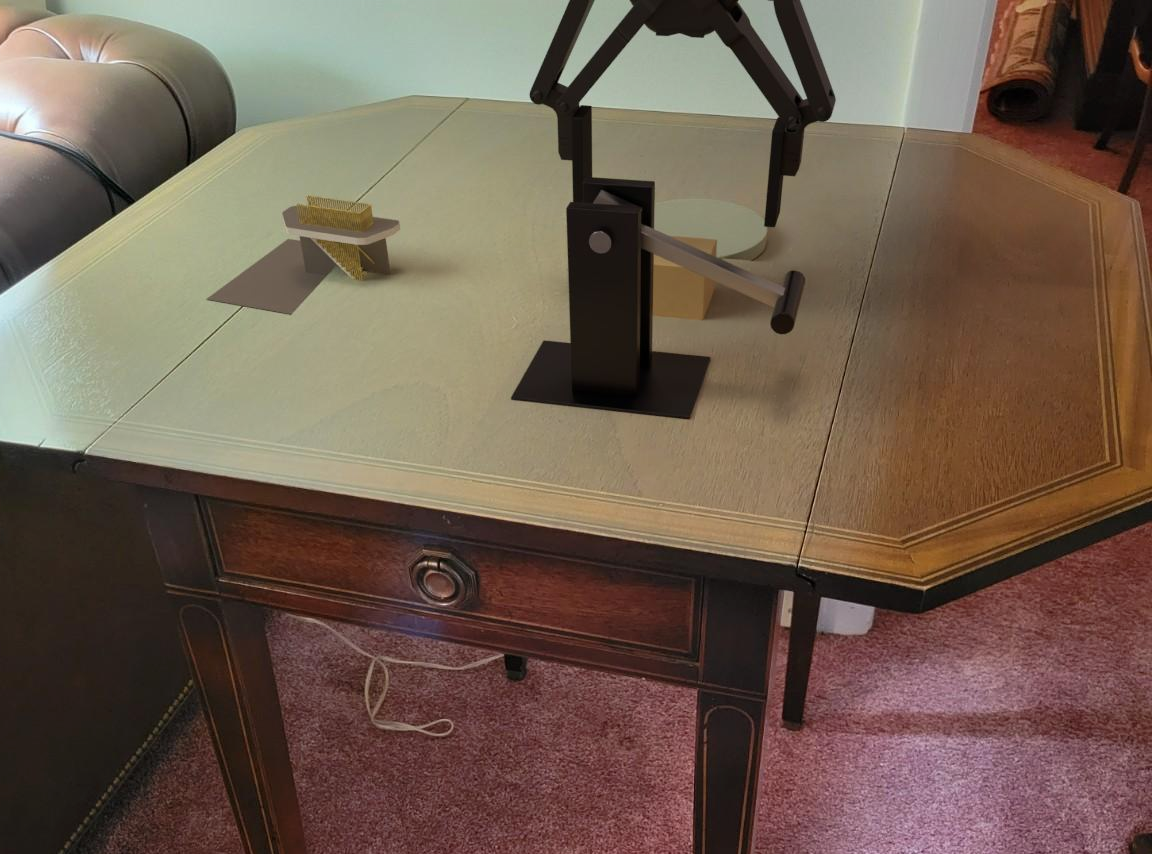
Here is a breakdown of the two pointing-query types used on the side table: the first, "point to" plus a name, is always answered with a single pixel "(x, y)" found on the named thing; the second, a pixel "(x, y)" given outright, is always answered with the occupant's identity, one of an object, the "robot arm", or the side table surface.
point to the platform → (313, 255)
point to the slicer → (612, 317)
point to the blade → (724, 271)
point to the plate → (714, 225)
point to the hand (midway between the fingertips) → (675, 212)
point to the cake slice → (682, 285)
